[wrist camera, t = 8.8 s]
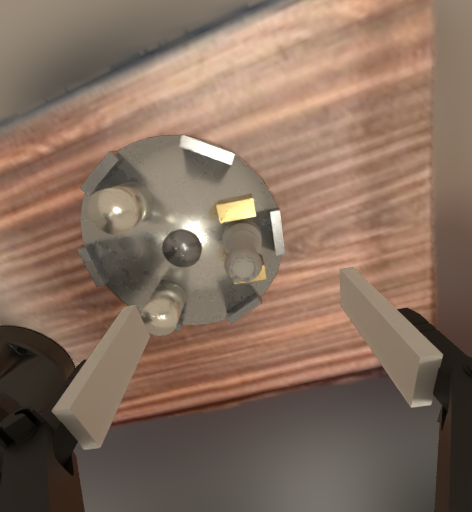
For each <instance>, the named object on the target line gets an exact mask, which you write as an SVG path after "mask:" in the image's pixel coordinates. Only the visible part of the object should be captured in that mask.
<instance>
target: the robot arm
mask: <svg viewBox="0 0 472 512" xmlns="http://www.w3.org/2000/svg"><path fill="white" fill-rule="evenodd" d="M340 303H341V307H342V308H343V310H344V311H345V313H346V314H347V315H348V317H349V318H350V320H351V321H352V323H353V324H354V326H355V327H356V328H357V330H358V331H359V333H360V334H361V336H362V337H363V339H364V340H365V342H366V343H367V344H368V346H369V347H370V349H371V350H372V352H373V353H374V355H375V356H376V357H377V359H378V360H379V362H380V363H381V365H382V366H383V368H384V369H385V370H386V372H387V373H388V375H389V376H390V378H391V379H392V380H393V382H394V383H395V385H396V386H397V388H398V389H399V391H400V392H401V394H402V395H403V396H404V398H405V399H406V401H407V402H408V404H409V405H410V407H418V406H426V405H431V403H432V399H433V395H434V396H435V397H436V398H437V400H438V401H439V402H440V403H441V405H442V406H441V410H440V413H439V417H438V421H437V422H439V423H440V427H439V443H438V459H437V475H436V492H435V509H434V512H472V358H471V357H468V356H467V355H466V354H464V353H463V352H462V351H461V350H460V349H459V348H458V347H457V346H455V345H454V344H453V343H452V342H451V341H450V340H449V339H447V338H446V337H445V336H444V335H443V334H442V333H441V332H440V331H438V330H436V328H435V327H434V326H433V325H432V324H429V322H428V321H427V320H426V319H425V318H424V317H422V316H421V315H420V314H419V313H417V312H415V311H413V310H411V309H409V308H402V309H396V308H395V307H394V306H393V305H392V304H391V303H390V302H389V301H388V300H387V299H385V298H384V297H383V296H382V295H381V294H380V293H379V292H378V291H377V290H376V289H375V288H374V287H373V286H372V285H371V284H370V283H369V282H368V281H367V280H366V279H365V278H364V277H363V276H362V275H361V274H360V273H359V272H358V271H357V270H356V269H355V268H354V267H349V268H343V269H340ZM149 338H150V335H149V333H148V331H147V329H146V327H145V324H144V322H143V320H142V318H141V316H140V314H139V312H138V309H137V307H136V305H131V306H126V307H124V308H123V309H122V311H121V312H120V314H119V315H118V316H117V318H116V319H115V321H114V322H113V324H112V325H111V326H110V328H109V329H108V331H107V332H106V334H105V335H104V336H103V338H102V339H101V341H100V342H99V344H98V345H97V346H96V348H95V349H94V351H93V352H92V354H91V355H90V356H89V358H88V359H87V360H83V361H82V362H81V363H80V364H79V365H78V366H77V367H76V368H75V369H74V366H73V363H72V361H71V359H70V358H69V356H68V355H67V354H66V353H65V351H64V350H63V349H62V348H60V347H59V346H58V345H57V344H56V343H54V342H53V341H51V340H50V339H48V338H46V337H44V336H42V335H40V334H38V333H36V332H33V331H30V330H27V329H23V328H18V327H9V326H2V327H0V512H85V511H84V504H83V499H82V491H81V485H80V478H79V472H78V465H77V459H76V455H75V453H74V452H73V450H74V448H75V446H76V444H77V442H78V443H79V445H80V446H82V448H83V449H84V450H87V449H93V448H100V447H101V445H102V443H103V441H104V438H105V436H106V434H107V432H108V430H109V427H110V425H111V423H112V421H113V418H114V416H115V414H116V412H117V409H118V407H119V405H120V403H121V400H122V398H123V396H124V394H125V392H126V389H127V387H128V385H129V383H130V380H131V378H132V376H133V374H134V371H135V369H136V367H137V365H138V362H139V360H140V358H141V356H142V354H143V351H144V349H145V347H146V345H147V342H148V340H149Z"/></svg>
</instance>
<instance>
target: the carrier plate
mask: <svg viewBox="0 0 472 512" xmlns="http://www.w3.org/2000/svg"><path fill="white" fill-rule="evenodd" d="M80 188H81V189H82V190H83V191H84V192H85V196H84V199H83V202H82V209H81V232H82V239H83V243H84V245H82V246H81V247H79V248H77V251H78V252H79V254H80V256H81V258H82V260H83V262H84V264H85V266H86V268H87V270H88V271H89V273H90V275H91V277H92V279H93V281H94V283H95V285H96V287H97V286H103V285H106V286H107V287H108V288H109V289H110V290H111V291H112V292H113V293H114V294H115V295H116V296H117V297H118V298H120V299H121V300H122V301H123V302H125V303H126V304H127V305H129V306H131V305H136V307H137V309H138V311H139V312H141V314H140V316H141V318H142V320H143V322H144V324H145V327H146V329H147V331H148V332H149V333H151V334H153V335H157V336H164V335H168V334H170V333H172V332H173V331H174V330H177V331H180V330H181V326H182V325H202V324H210V323H215V322H219V321H222V320H225V319H227V320H228V321H229V322H230V323H231V324H232V323H233V322H235V321H236V320H238V319H239V318H241V317H242V316H244V315H245V314H247V313H248V312H250V311H251V310H252V309H254V308H255V307H257V306H258V305H260V304H261V303H262V299H261V296H262V295H263V294H264V293H265V291H266V290H267V289H268V287H269V286H270V284H271V283H272V281H273V279H274V277H275V275H276V273H277V270H278V267H279V265H280V261H281V256H282V255H283V254H285V249H284V240H283V229H282V224H281V215H280V210H279V208H277V206H276V203H275V201H274V199H273V197H272V195H271V193H270V191H269V190H268V188H267V187H266V185H265V184H264V182H263V181H262V179H261V178H260V177H259V176H258V175H257V173H256V172H255V171H254V170H253V169H252V168H251V167H250V166H249V165H248V164H247V163H245V162H244V161H243V160H242V159H241V158H239V157H238V156H236V155H235V154H234V153H232V152H230V151H229V150H227V149H225V148H223V147H221V146H218V145H216V144H214V143H211V142H208V141H205V140H201V139H198V138H193V137H188V136H186V135H182V136H157V137H151V138H146V139H143V140H140V141H137V142H134V143H132V144H130V145H128V146H126V147H124V148H122V149H120V150H119V151H110V152H109V153H108V154H107V155H106V156H105V158H104V159H103V160H102V161H101V163H100V164H99V165H98V166H97V167H96V169H95V170H94V171H93V172H92V173H91V175H90V176H89V177H88V178H87V180H86V181H85V182H84V183H83V184H82V186H81V187H80ZM240 219H248V220H250V221H252V222H254V223H256V225H257V226H258V227H259V228H260V230H261V233H262V246H261V248H260V250H259V251H258V255H259V256H260V257H261V260H262V270H261V272H260V273H259V275H258V276H257V277H256V279H255V278H254V279H253V280H251V283H247V284H245V282H240V284H239V283H237V282H234V279H232V278H230V276H228V275H227V273H226V271H225V268H224V261H225V259H226V257H227V255H228V253H227V252H226V251H225V249H224V246H223V241H222V237H223V232H224V230H225V227H226V226H227V225H228V224H229V223H231V222H232V221H235V220H240Z"/></svg>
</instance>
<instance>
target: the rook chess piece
mask: <svg viewBox="0 0 472 512" xmlns="http://www.w3.org/2000/svg"><path fill="white" fill-rule="evenodd" d="M222 241H223V246H224V249H225V251H226V252H227V253H228V255H227V257H226V259H225V261H224V268H225V271H226V273H227V275H228V276H230V278H232V279H234V282H237V283H239V284H240V282H245V284H247V283H251V280H253V279H254V278H255V279H256V277H257V276H258V275H259V273H260V272H261V270H262V260H261V257H260V256H259V255H258V251H259V250H260V248H261V246H262V233H261V230H260V228H259V227H258V226H257V225H256V223H254V222H252V221H250V220H248V219H240V220H235V221H232V222H231V223H229V224H228V225H227V226H226V227H225V230H224V232H223V237H222Z"/></svg>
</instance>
